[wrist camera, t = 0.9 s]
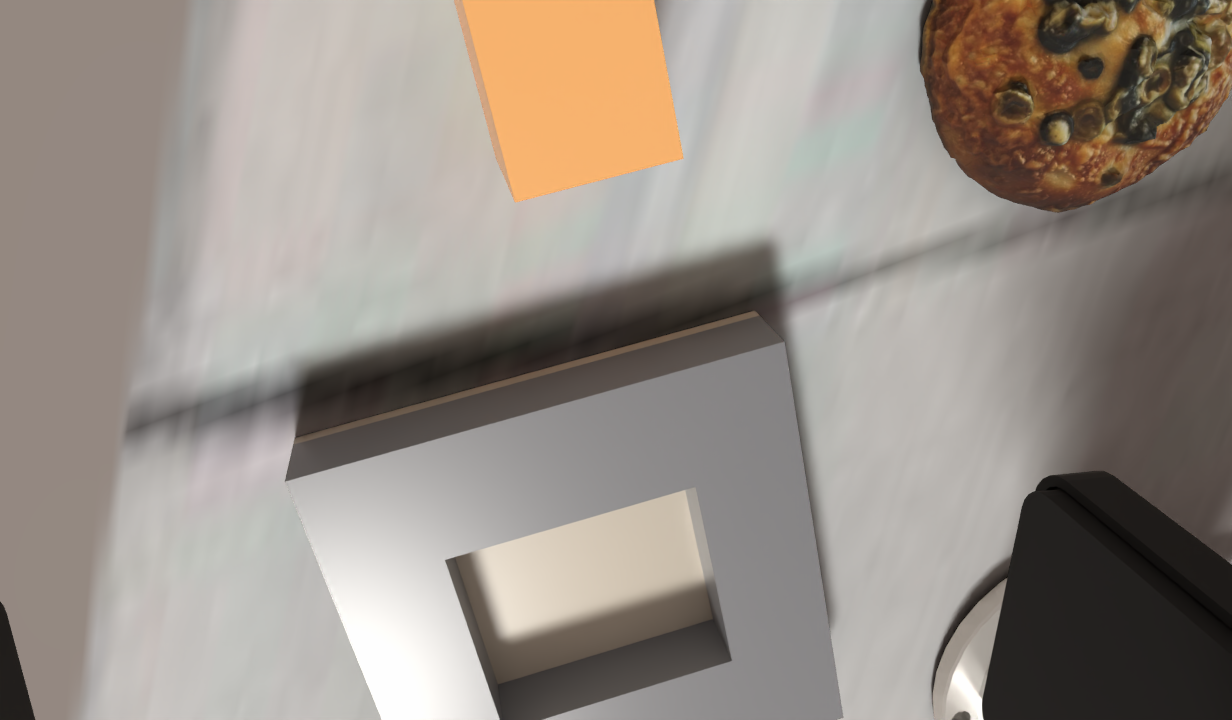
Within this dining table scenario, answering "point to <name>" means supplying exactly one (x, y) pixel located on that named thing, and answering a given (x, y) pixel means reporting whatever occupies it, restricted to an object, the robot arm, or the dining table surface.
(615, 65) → the plug
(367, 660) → the socket plate
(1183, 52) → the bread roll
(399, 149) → the dining table surface
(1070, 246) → the dining table surface
